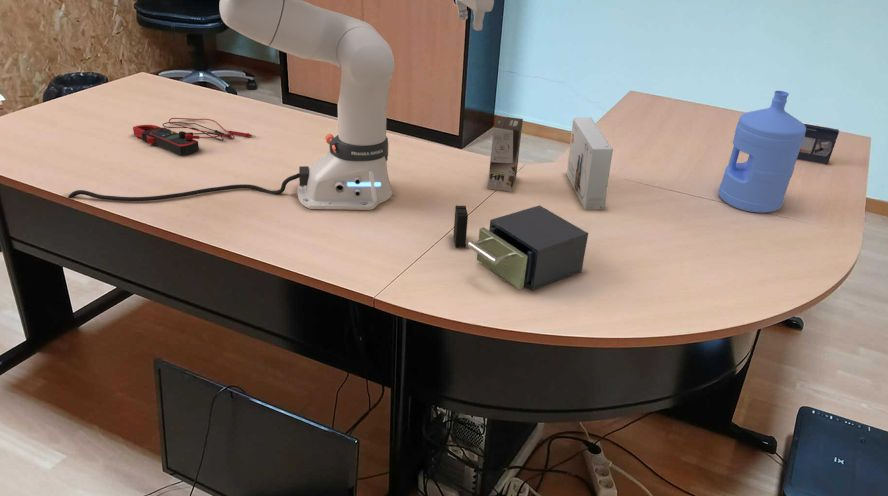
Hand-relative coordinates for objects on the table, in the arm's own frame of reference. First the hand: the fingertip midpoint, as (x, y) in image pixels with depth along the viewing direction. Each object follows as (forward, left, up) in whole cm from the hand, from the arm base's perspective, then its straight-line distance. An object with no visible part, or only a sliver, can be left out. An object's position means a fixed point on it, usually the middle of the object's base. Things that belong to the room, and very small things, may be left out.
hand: (470, 24), depth 161 cm
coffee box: (+12, +2, -40) cm, 42 cm away
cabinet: (+5, -38, -40) cm, 55 cm away
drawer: (-1, -40, -39) cm, 56 cm away
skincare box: (+31, -6, -40) cm, 51 cm away
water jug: (+72, -18, -40) cm, 85 cm away
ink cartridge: (-8, -26, -40) cm, 48 cm away
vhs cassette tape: (+105, +6, -40) cm, 113 cm away
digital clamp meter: (-63, +44, -40) cm, 86 cm away
